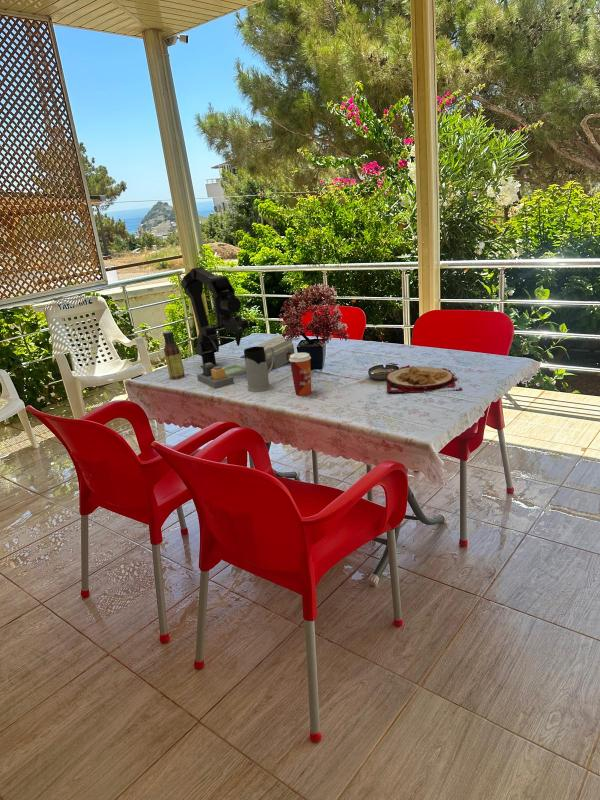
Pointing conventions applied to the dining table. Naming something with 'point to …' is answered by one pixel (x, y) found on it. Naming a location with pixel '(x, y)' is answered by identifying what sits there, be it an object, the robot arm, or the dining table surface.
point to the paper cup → (301, 373)
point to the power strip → (213, 383)
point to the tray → (234, 369)
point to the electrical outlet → (277, 351)
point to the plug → (218, 373)
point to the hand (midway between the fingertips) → (228, 348)
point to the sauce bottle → (173, 357)
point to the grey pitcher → (257, 368)
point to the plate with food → (419, 379)
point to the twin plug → (208, 369)
